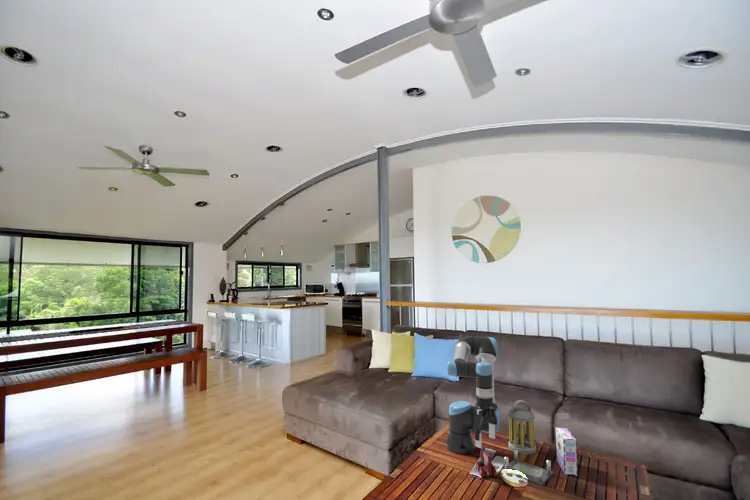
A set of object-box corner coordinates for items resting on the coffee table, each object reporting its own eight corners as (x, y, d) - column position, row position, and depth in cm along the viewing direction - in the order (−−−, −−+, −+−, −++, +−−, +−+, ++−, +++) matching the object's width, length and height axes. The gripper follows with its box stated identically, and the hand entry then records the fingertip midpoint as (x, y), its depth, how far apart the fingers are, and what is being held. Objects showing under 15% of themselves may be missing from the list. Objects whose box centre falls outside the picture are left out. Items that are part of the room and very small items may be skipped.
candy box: (578, 476, 170) (576, 439, 171) (564, 475, 171) (563, 438, 172) (568, 461, 184) (567, 427, 185) (556, 460, 185) (554, 426, 186)
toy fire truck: (489, 466, 179) (488, 444, 180) (498, 480, 167) (497, 456, 168) (474, 466, 179) (474, 444, 180) (482, 480, 167) (482, 456, 168)
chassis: (503, 470, 175) (503, 457, 175) (514, 460, 184) (514, 448, 185) (542, 485, 163) (542, 471, 163) (552, 474, 172) (552, 460, 172)
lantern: (527, 441, 206) (525, 395, 208) (541, 453, 192) (540, 404, 194) (503, 442, 204) (502, 396, 206) (516, 455, 190) (515, 405, 192)
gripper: (479, 404, 164) (479, 454, 162) (503, 392, 182) (504, 436, 180) (464, 400, 169) (464, 448, 167) (489, 389, 187) (490, 432, 185)
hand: (485, 442), depth 174 cm, fingers open, 13 cm apart
